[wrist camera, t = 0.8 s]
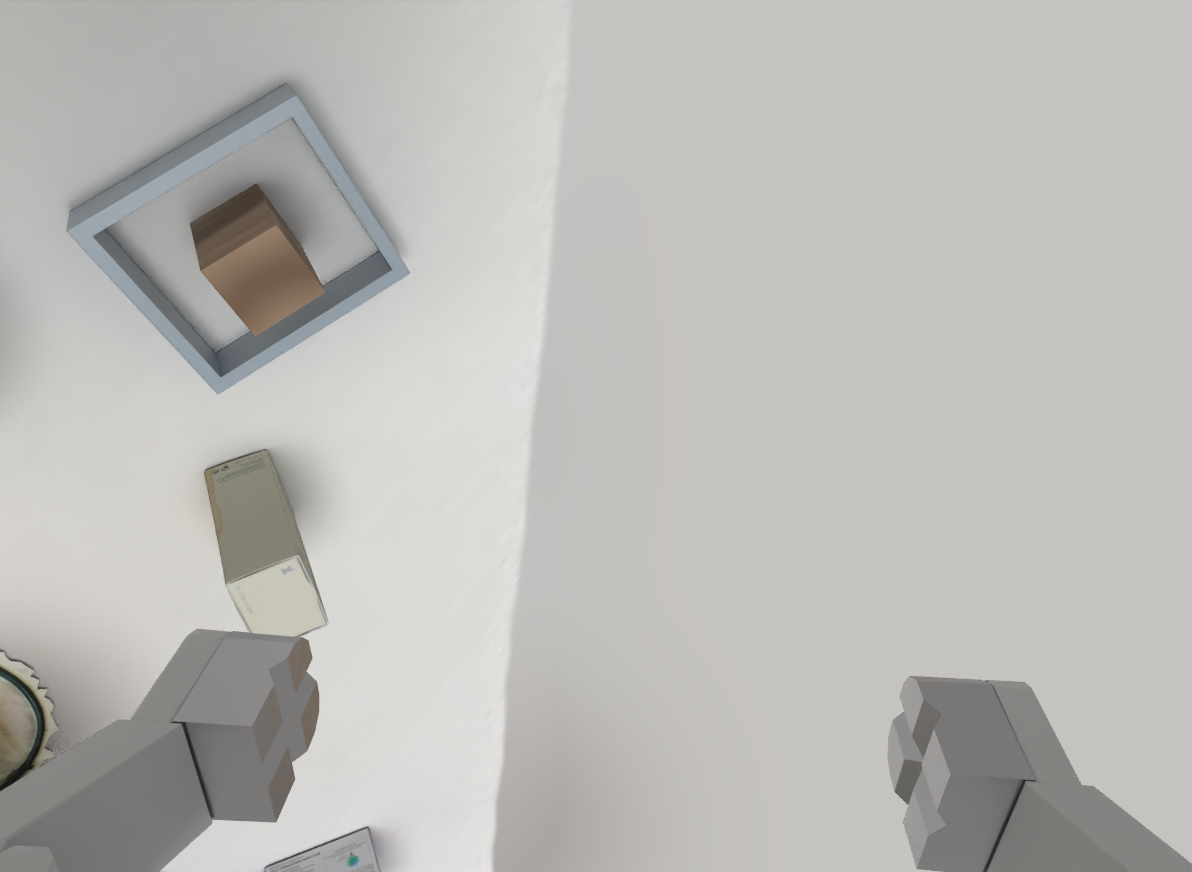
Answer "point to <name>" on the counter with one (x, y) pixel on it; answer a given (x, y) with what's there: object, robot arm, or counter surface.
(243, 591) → the skincare box
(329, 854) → the ink cartridge box
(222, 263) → the walnut block
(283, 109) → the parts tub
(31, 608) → the counter surface
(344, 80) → the counter surface
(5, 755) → the decorative vase
